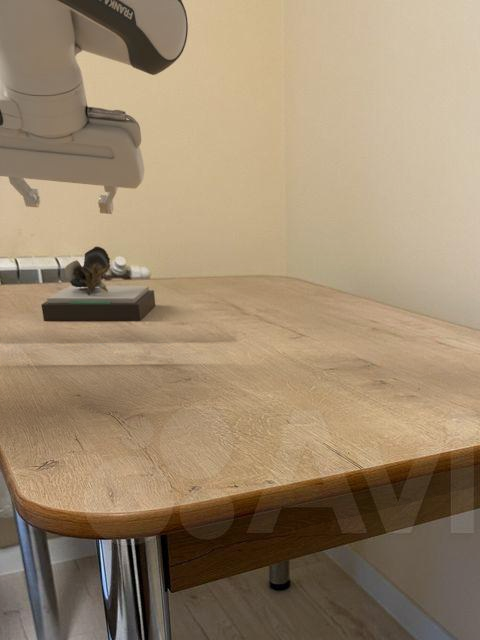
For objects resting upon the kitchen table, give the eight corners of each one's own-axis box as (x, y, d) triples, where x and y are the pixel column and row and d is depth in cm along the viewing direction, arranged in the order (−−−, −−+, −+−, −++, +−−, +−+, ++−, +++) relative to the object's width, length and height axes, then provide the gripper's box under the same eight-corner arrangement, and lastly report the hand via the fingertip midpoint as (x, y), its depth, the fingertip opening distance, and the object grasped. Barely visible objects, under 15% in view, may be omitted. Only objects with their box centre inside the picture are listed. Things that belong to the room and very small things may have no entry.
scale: (43, 320, 105) (40, 298, 104) (69, 304, 118) (66, 285, 116) (140, 320, 106) (137, 298, 105) (155, 304, 119) (153, 285, 118)
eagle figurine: (127, 286, 108) (122, 268, 115) (96, 247, 104) (92, 231, 111) (87, 314, 108) (83, 294, 115) (53, 277, 104) (52, 258, 111)
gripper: (141, 99, 87) (153, 201, 98) (-36, 80, 84) (-3, 187, 95) (134, 126, 83) (147, 229, 94) (-52, 106, 80) (-16, 214, 91)
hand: (70, 208), depth 94 cm, fingers open, 8 cm apart
